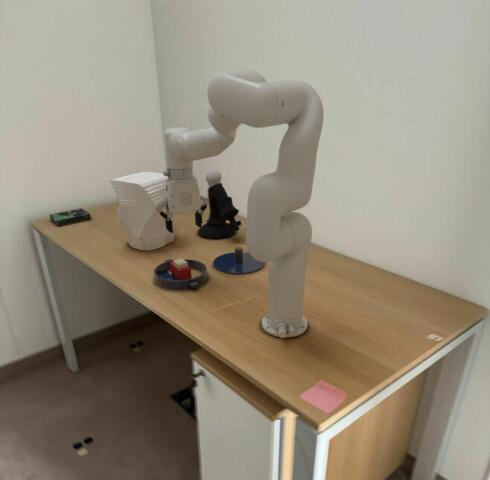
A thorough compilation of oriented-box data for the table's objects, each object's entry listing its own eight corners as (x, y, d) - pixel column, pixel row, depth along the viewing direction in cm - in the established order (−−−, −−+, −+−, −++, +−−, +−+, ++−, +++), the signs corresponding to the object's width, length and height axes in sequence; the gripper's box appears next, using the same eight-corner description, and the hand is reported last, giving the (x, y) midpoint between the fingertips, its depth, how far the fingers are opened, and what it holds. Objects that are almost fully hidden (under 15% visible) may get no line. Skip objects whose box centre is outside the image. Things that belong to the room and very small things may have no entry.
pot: (170, 299, 142) (169, 289, 140) (144, 272, 159) (143, 263, 157) (220, 286, 149) (219, 276, 148) (190, 261, 166) (190, 252, 164)
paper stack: (113, 245, 180) (102, 177, 166) (167, 227, 197) (161, 164, 183) (146, 260, 168) (137, 188, 154) (201, 239, 185) (197, 173, 171)
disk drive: (82, 214, 214) (50, 220, 206) (81, 208, 212) (48, 214, 204) (91, 219, 207) (58, 226, 199) (90, 213, 205) (57, 220, 197)
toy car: (191, 280, 152) (190, 263, 149) (179, 283, 150) (178, 266, 147) (182, 272, 158) (181, 255, 154) (170, 275, 156) (169, 258, 153)
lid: (228, 280, 153) (228, 263, 150) (204, 261, 166) (203, 245, 163) (274, 268, 161) (274, 252, 157) (248, 251, 174) (247, 235, 171)
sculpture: (222, 224, 200) (220, 164, 187) (254, 240, 184) (254, 175, 170) (191, 231, 193) (187, 169, 180) (221, 249, 176) (219, 182, 163)
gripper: (157, 180, 131) (163, 237, 140) (212, 172, 138) (214, 227, 147) (148, 174, 136) (154, 230, 146) (201, 167, 144) (204, 220, 153)
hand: (184, 228), depth 146 cm, fingers open, 9 cm apart
